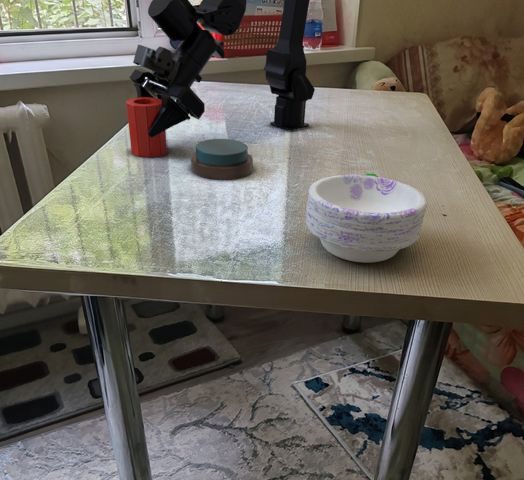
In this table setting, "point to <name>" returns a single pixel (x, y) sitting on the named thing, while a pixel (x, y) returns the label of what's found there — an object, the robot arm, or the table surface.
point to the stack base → (221, 170)
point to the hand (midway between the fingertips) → (140, 130)
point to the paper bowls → (364, 216)
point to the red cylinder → (145, 127)
